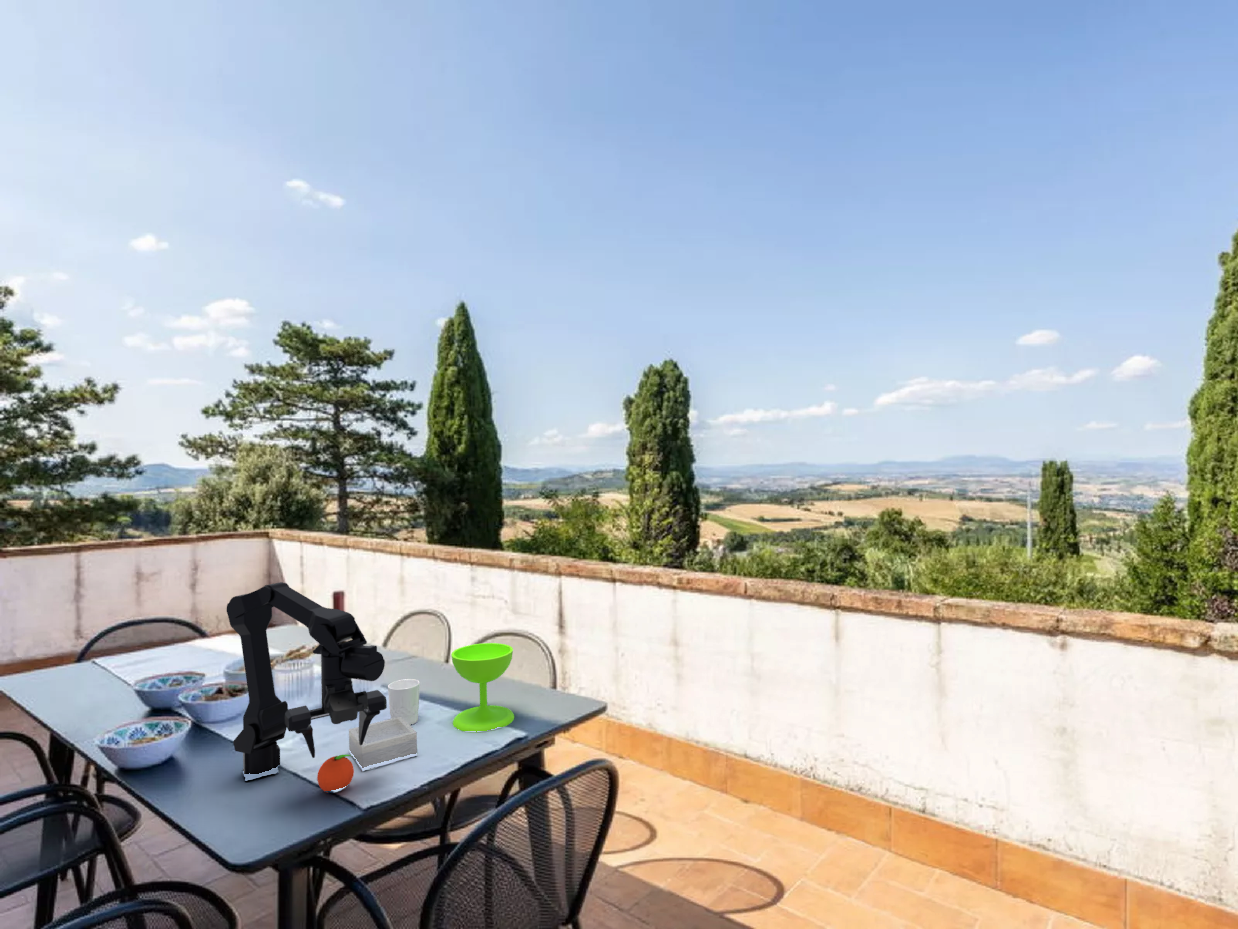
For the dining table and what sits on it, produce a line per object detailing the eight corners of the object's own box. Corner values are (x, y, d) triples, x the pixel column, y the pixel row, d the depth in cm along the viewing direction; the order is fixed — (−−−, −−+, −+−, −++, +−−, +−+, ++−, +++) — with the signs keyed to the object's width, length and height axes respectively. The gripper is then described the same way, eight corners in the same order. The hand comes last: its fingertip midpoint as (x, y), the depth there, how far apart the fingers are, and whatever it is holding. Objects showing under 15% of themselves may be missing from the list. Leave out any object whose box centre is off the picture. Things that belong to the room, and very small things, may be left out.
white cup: (426, 717, 166) (425, 680, 167) (408, 729, 159) (408, 690, 159) (400, 715, 169) (400, 678, 169) (382, 726, 161) (381, 688, 161)
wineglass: (439, 725, 161) (437, 656, 161) (480, 704, 175) (479, 640, 175) (487, 737, 153) (486, 663, 153) (526, 713, 167) (525, 646, 168)
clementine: (349, 777, 134) (348, 744, 134) (365, 787, 130) (364, 753, 130) (311, 792, 128) (310, 758, 128) (327, 803, 124) (326, 767, 124)
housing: (362, 771, 136) (362, 746, 137) (349, 752, 146) (348, 729, 146) (417, 756, 144) (416, 732, 144) (400, 738, 153) (400, 716, 153)
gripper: (293, 696, 117) (294, 780, 117) (393, 675, 128) (395, 751, 128) (283, 681, 126) (284, 758, 126) (378, 663, 137) (379, 733, 137)
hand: (337, 750), depth 129 cm, fingers open, 9 cm apart
